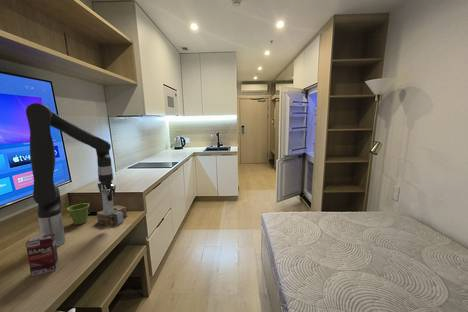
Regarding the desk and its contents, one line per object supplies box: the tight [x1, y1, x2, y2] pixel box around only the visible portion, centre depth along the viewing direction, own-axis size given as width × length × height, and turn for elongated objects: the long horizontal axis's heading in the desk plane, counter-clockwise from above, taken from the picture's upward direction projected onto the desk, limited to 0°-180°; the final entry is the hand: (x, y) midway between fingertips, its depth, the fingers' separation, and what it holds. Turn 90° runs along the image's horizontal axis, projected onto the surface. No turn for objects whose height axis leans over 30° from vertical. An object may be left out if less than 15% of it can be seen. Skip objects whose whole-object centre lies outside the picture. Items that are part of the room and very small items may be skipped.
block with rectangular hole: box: [96, 204, 128, 226], centre depth 139 cm, size 14×10×7 cm
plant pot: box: [66, 202, 90, 226], centre depth 135 cm, size 12×12×11 cm
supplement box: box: [25, 233, 59, 277], centre depth 90 cm, size 9×5×16 cm, turn 118°
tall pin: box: [101, 191, 115, 215], centre depth 125 cm, size 4×4×14 cm
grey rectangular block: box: [112, 211, 124, 225], centre depth 134 cm, size 4×4×7 cm
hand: (107, 200), depth 125 cm, fingers closed on tall pin, 4 cm apart
